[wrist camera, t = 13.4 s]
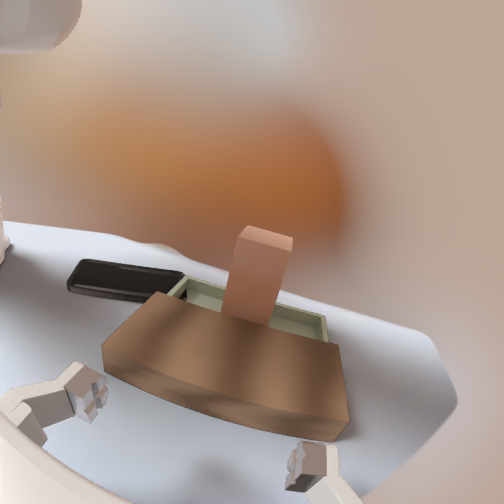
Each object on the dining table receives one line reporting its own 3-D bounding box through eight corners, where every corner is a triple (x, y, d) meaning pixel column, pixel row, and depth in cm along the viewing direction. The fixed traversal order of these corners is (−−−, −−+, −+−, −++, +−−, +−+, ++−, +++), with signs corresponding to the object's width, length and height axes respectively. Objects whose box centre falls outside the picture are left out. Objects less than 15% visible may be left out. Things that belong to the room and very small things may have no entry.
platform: (104, 371, 19) (101, 344, 18) (154, 314, 28) (157, 291, 27) (332, 442, 17) (349, 421, 16) (327, 366, 27) (338, 344, 26)
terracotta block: (217, 325, 29) (238, 236, 25) (228, 304, 33) (247, 225, 30) (263, 339, 28) (291, 251, 25) (268, 316, 33) (292, 238, 30)
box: (160, 315, 28) (161, 299, 28) (183, 288, 35) (185, 275, 34) (322, 363, 27) (329, 349, 26) (319, 328, 34) (325, 315, 33)
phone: (187, 302, 31) (64, 284, 26) (186, 310, 31) (64, 293, 27) (184, 271, 38) (82, 257, 33) (183, 278, 38) (82, 264, 34)
